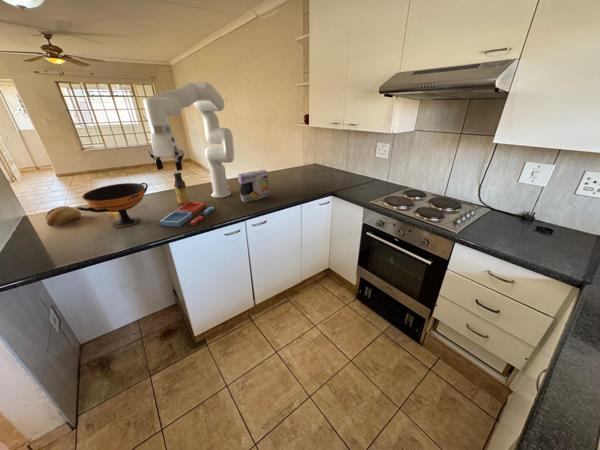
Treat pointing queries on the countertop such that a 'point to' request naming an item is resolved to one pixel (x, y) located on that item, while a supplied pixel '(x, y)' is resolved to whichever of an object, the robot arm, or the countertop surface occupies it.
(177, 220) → the blue tray
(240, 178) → the cake pan box
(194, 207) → the red tray
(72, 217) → the bread roll
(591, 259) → the countertop surface
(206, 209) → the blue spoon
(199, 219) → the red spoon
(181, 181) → the sauce bottle
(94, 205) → the cup
